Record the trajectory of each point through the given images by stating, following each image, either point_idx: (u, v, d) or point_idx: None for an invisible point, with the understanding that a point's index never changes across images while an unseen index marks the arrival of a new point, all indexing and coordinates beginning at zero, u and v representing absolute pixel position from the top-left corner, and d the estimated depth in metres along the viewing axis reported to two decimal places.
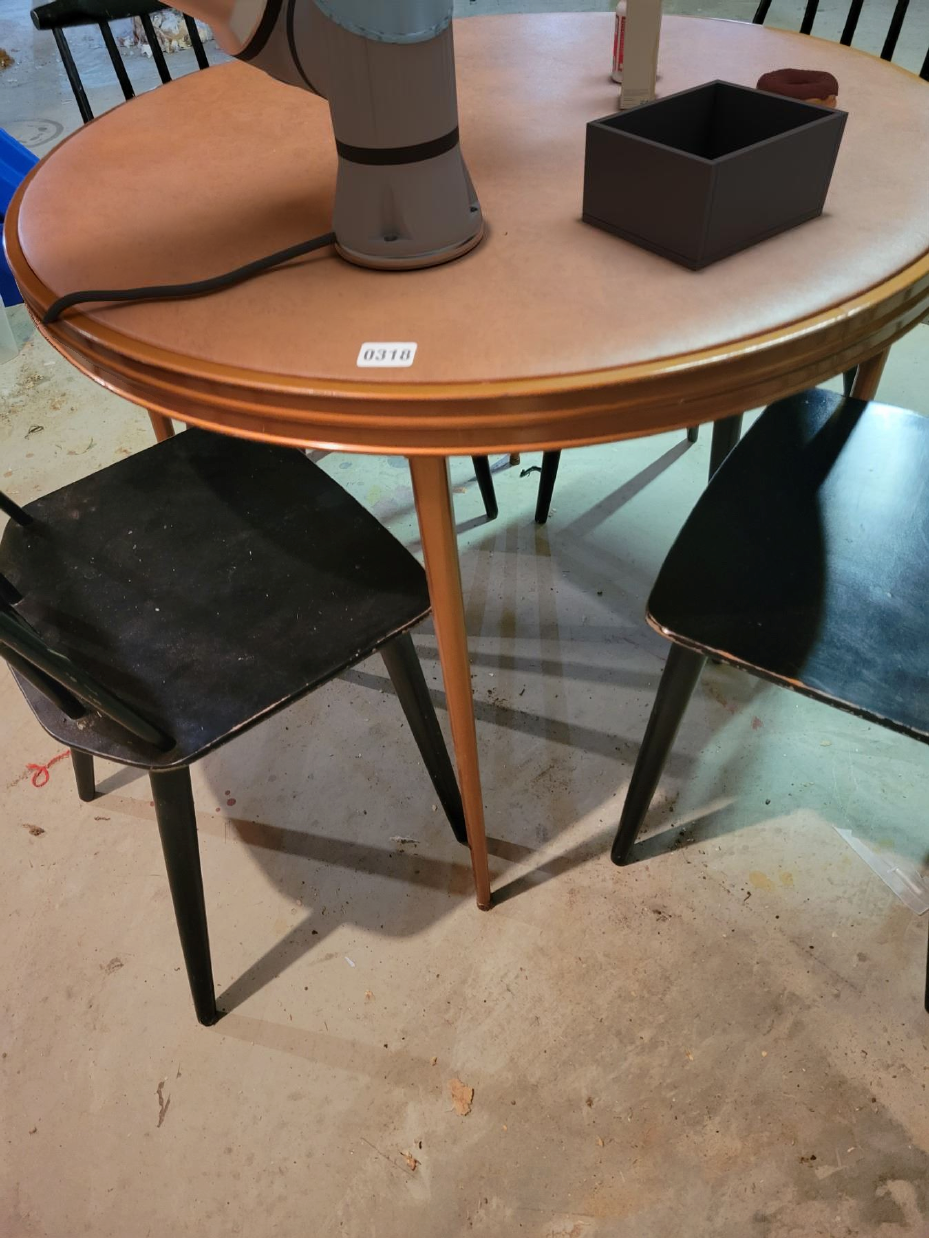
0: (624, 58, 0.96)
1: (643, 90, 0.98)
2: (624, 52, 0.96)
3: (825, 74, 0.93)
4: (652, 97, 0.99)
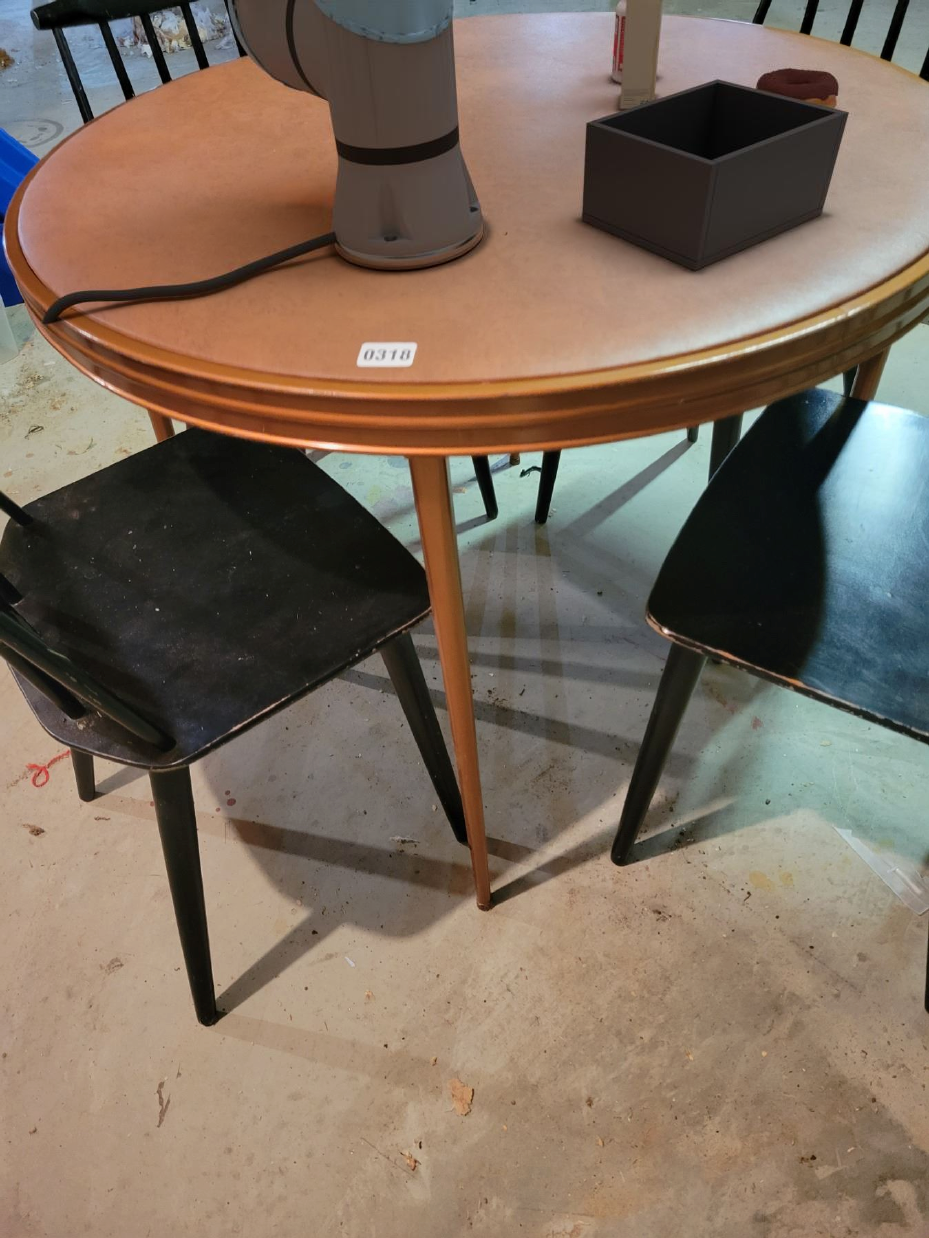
0: (624, 58, 0.96)
1: (643, 90, 0.98)
2: (624, 52, 0.96)
3: (825, 74, 0.93)
4: (652, 97, 0.99)
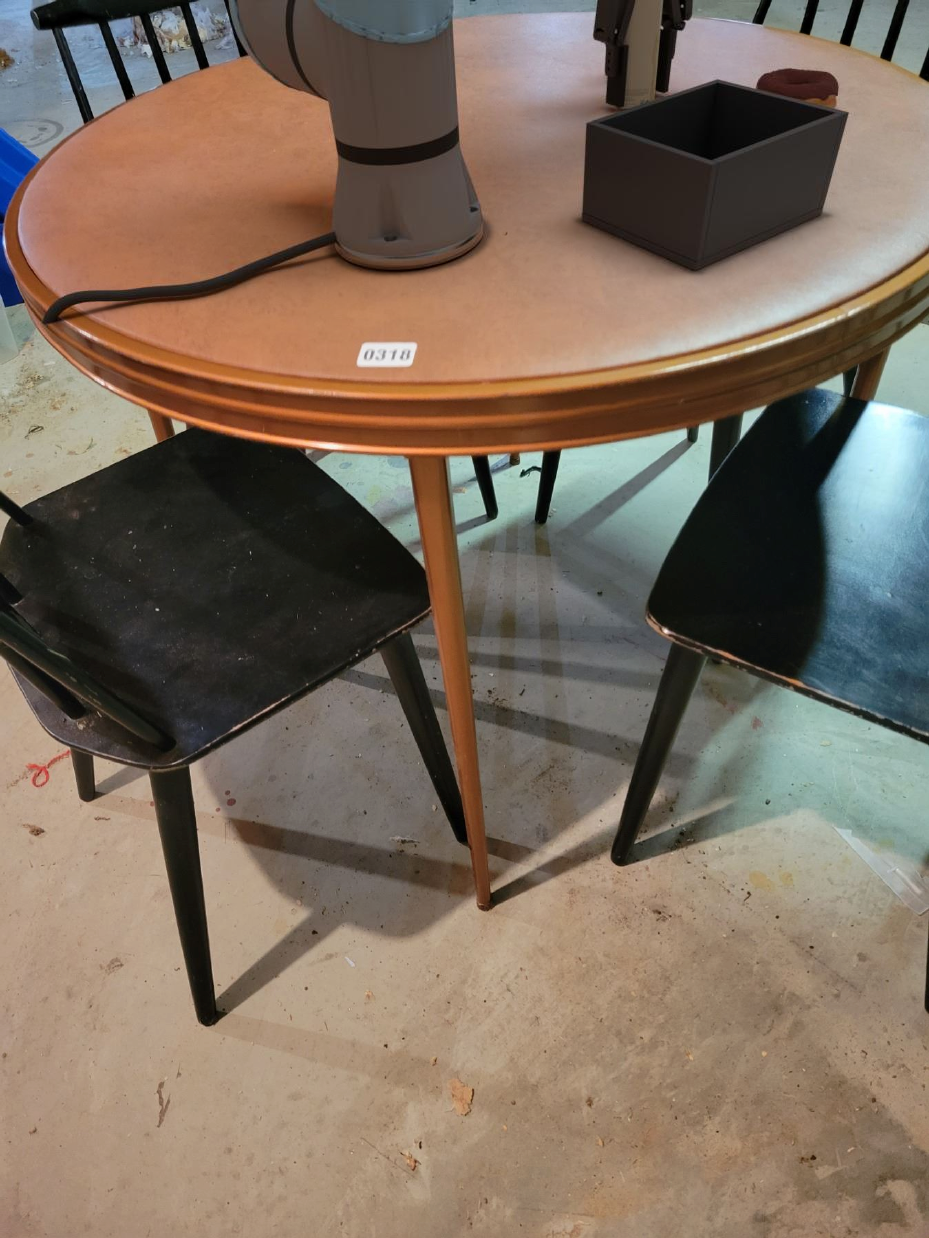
0: None
1: (643, 90, 0.98)
2: None
3: (825, 74, 0.93)
4: (652, 97, 0.99)
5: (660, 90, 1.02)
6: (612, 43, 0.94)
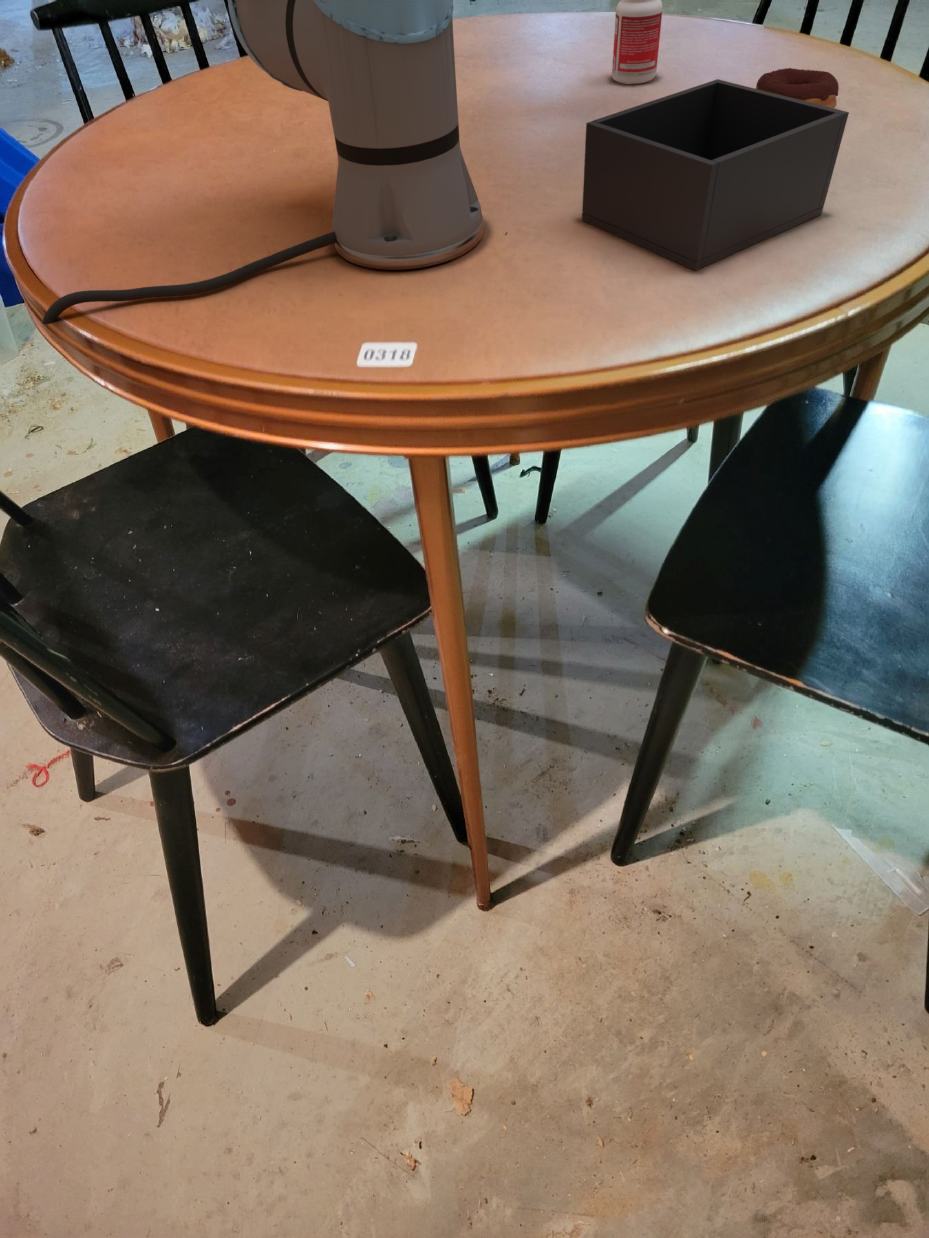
0: None
1: None
2: None
3: (825, 74, 0.93)
4: None
5: None
6: None
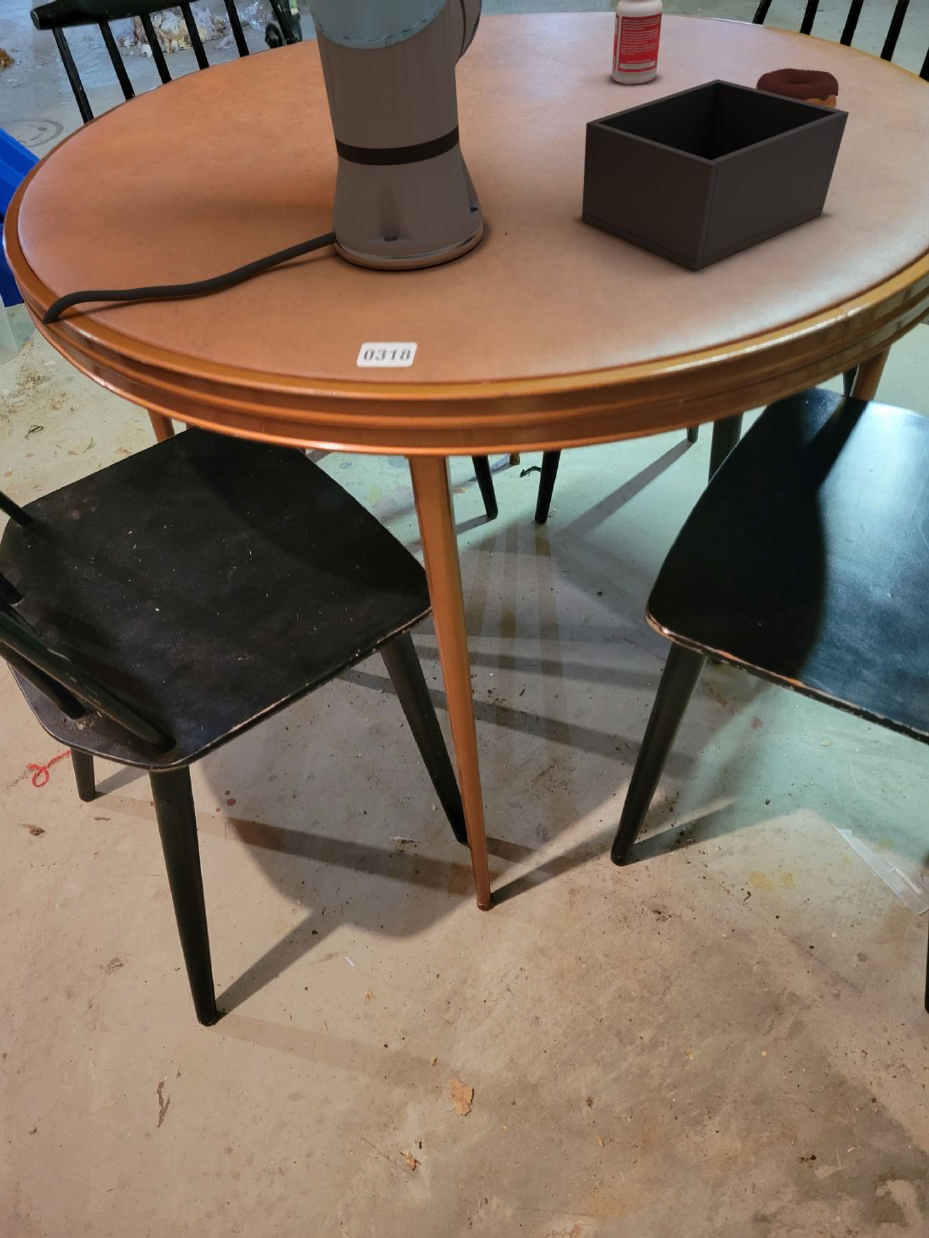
0: None
1: None
2: None
3: (825, 74, 0.93)
4: None
5: None
6: None
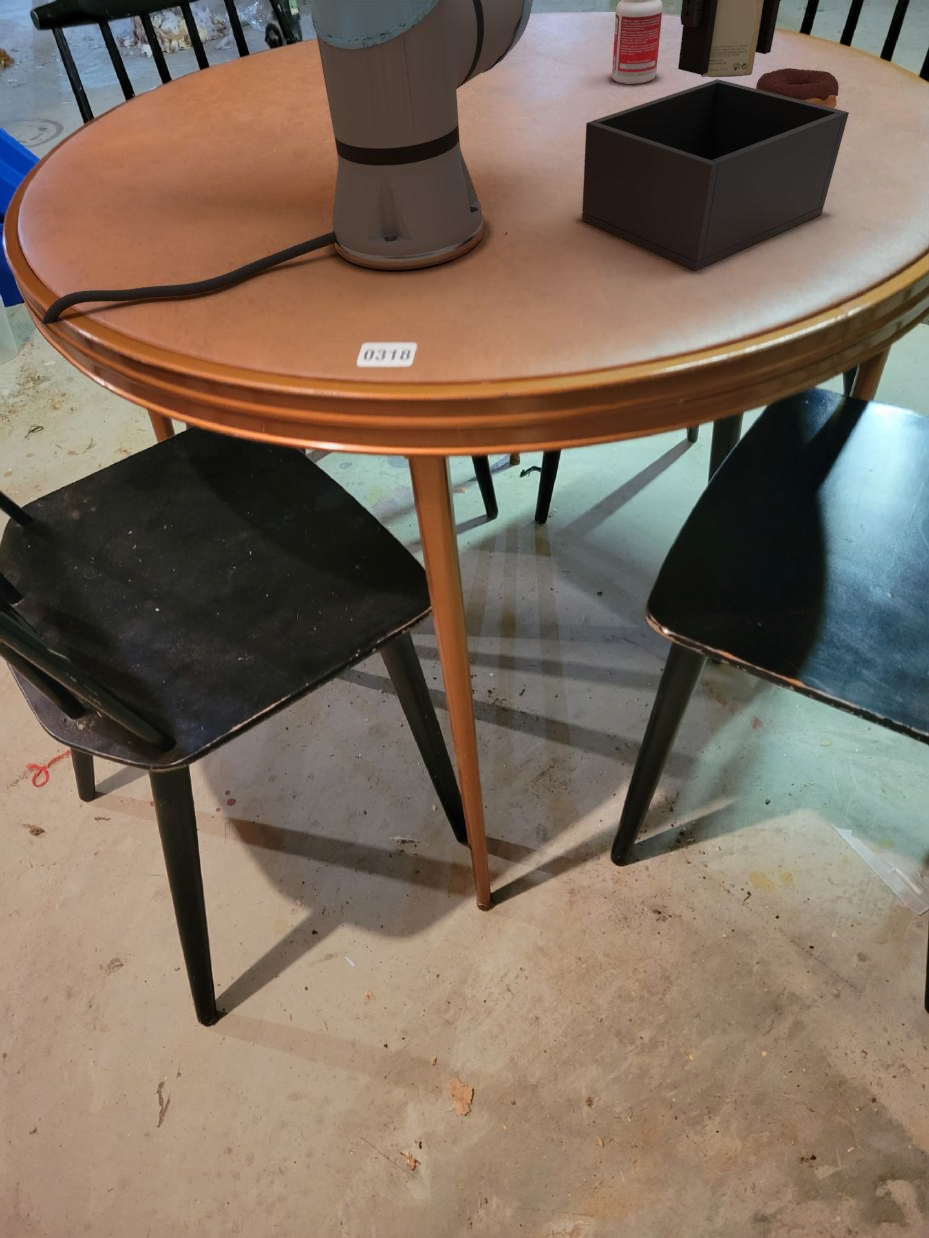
0: None
1: (739, 47, 0.64)
2: None
3: (825, 74, 0.93)
4: (752, 58, 0.65)
5: (759, 49, 0.68)
6: None
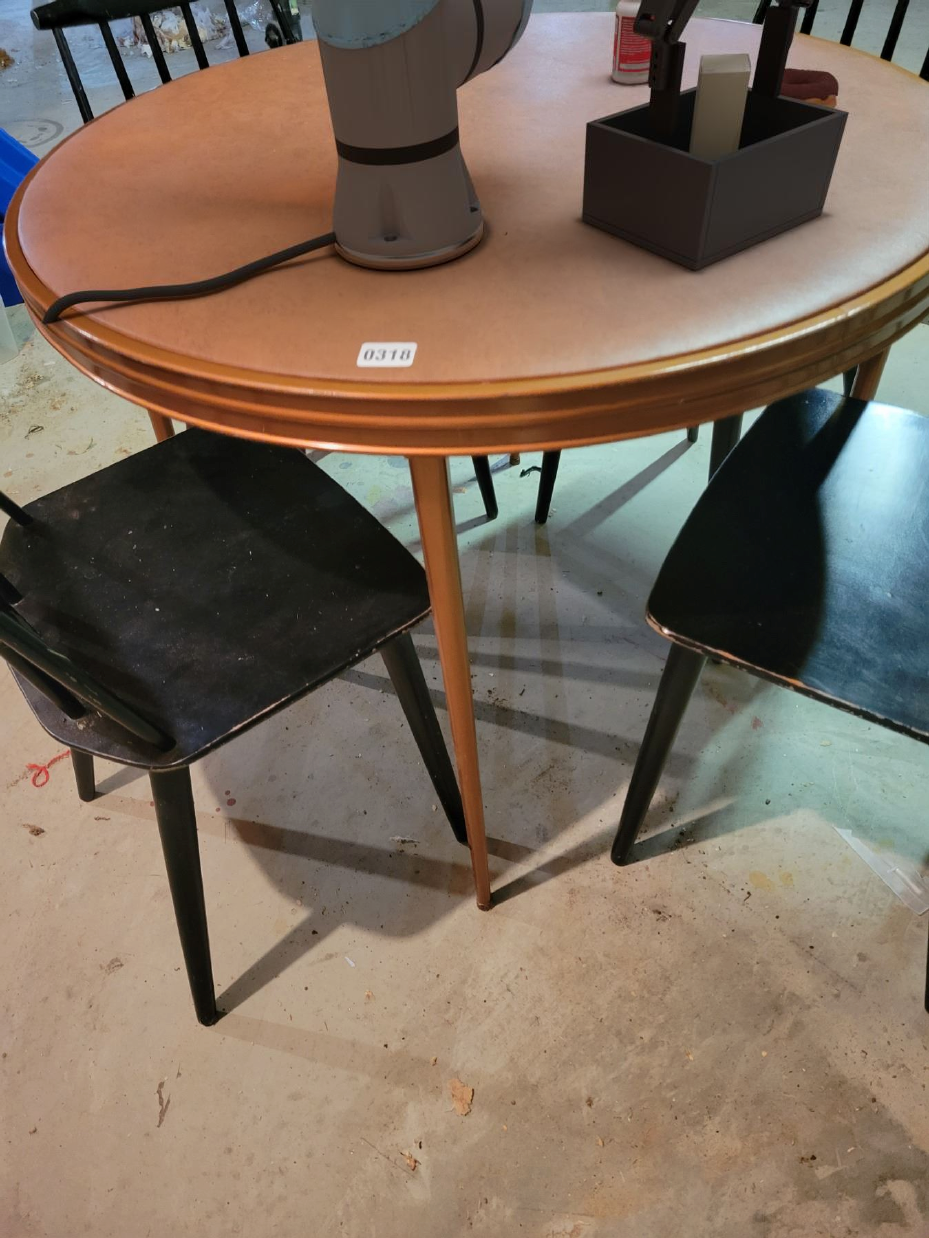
0: None
1: None
2: (692, 149, 0.71)
3: (825, 74, 0.93)
4: None
5: (768, 93, 0.72)
6: (662, 35, 0.62)
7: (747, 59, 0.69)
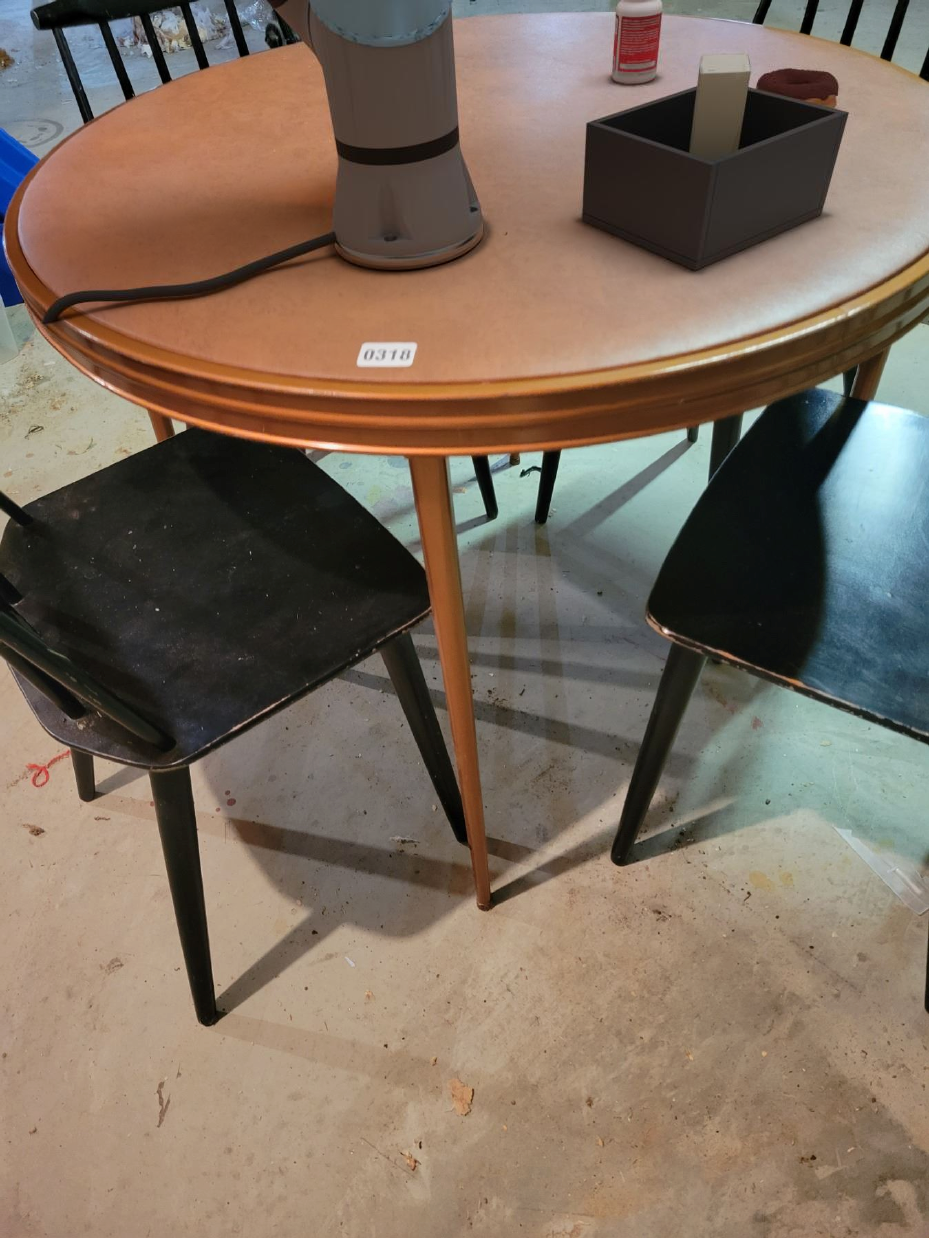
0: None
1: None
2: (692, 149, 0.71)
3: (825, 74, 0.93)
4: None
5: None
6: None
7: (747, 59, 0.69)
